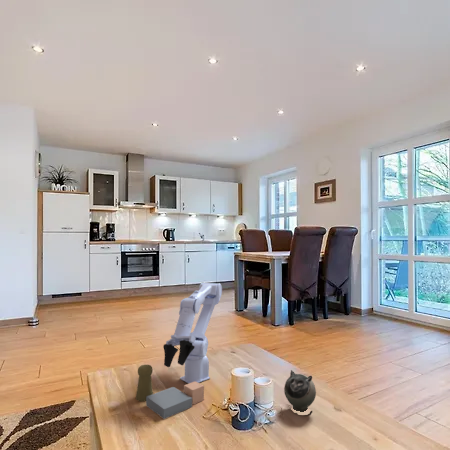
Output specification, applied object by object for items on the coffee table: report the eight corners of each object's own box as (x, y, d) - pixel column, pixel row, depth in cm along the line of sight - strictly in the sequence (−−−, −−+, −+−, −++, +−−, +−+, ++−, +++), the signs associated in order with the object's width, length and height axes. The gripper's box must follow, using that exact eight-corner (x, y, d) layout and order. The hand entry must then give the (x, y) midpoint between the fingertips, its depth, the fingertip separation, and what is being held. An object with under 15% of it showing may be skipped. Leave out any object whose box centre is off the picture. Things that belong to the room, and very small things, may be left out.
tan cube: (194, 395, 117) (195, 381, 117) (203, 400, 114) (204, 385, 114) (183, 399, 114) (184, 385, 114) (192, 405, 110) (192, 390, 110)
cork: (148, 402, 111) (149, 369, 112) (132, 400, 113) (133, 368, 113) (155, 394, 117) (156, 363, 118) (140, 392, 118) (141, 361, 119)
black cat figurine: (282, 415, 105) (315, 421, 101) (281, 377, 105) (314, 381, 102) (286, 401, 114) (317, 405, 111) (286, 366, 115) (316, 369, 111)
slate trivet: (173, 395, 117) (173, 386, 117) (191, 406, 109) (192, 397, 109) (146, 405, 109) (146, 396, 109) (163, 419, 101) (164, 409, 101)
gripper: (164, 326, 123) (152, 362, 114) (188, 320, 114) (178, 358, 106) (177, 334, 126) (167, 369, 118) (202, 328, 118) (193, 366, 109)
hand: (173, 365), depth 112 cm, fingers open, 7 cm apart
